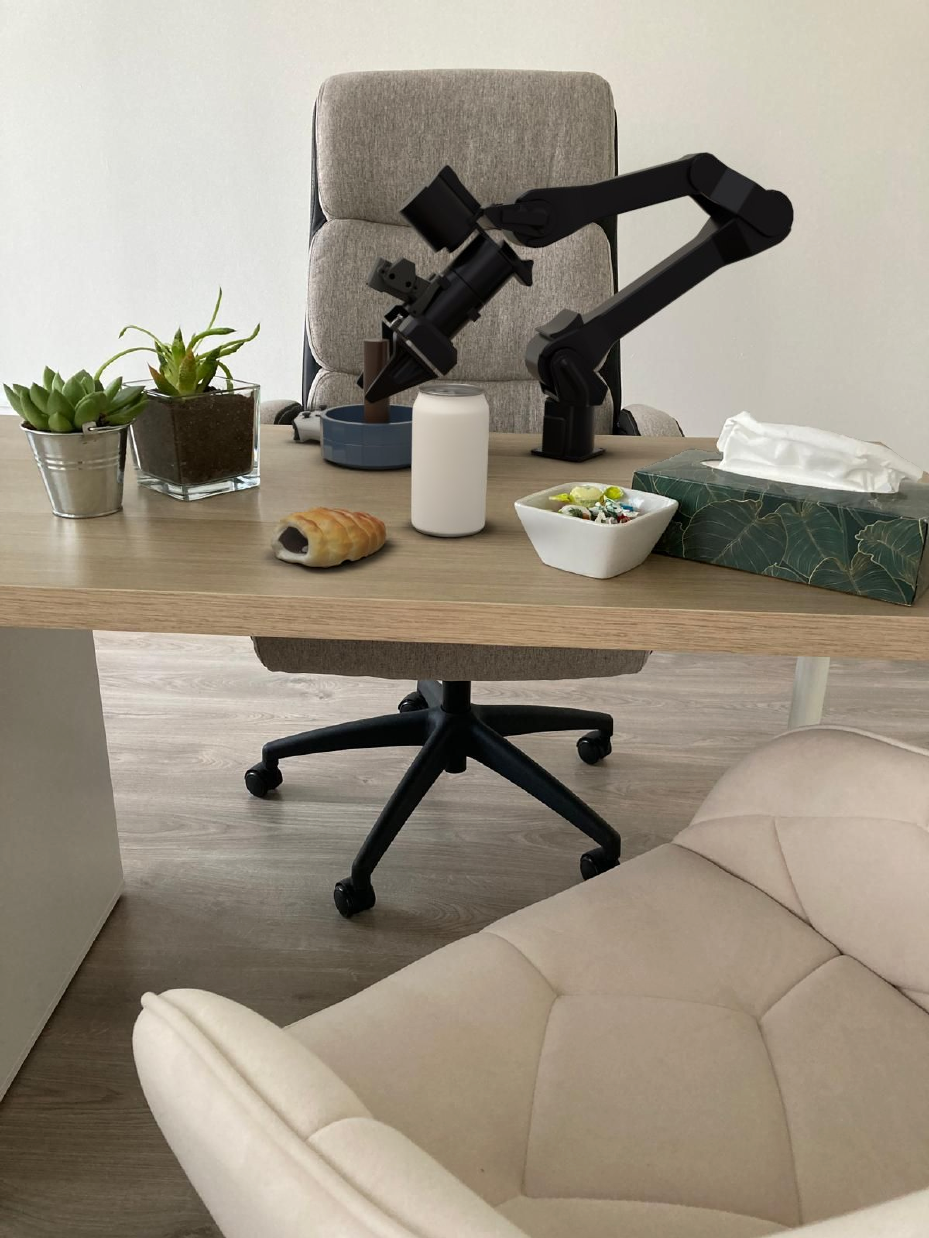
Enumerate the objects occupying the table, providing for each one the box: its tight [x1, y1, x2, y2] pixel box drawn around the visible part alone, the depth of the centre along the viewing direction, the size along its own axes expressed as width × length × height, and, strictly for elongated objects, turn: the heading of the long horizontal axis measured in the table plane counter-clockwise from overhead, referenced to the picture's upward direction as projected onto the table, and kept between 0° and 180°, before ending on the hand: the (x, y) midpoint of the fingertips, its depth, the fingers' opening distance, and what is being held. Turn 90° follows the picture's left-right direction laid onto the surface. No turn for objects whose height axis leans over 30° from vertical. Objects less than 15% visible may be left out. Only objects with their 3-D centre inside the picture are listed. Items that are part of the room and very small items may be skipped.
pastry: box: [270, 506, 387, 568], centre depth 82 cm, size 9×7×4 cm
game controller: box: [291, 404, 328, 443], centre depth 123 cm, size 10×5×6 cm
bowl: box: [319, 403, 413, 470], centre depth 113 cm, size 12×12×5 cm
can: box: [410, 382, 490, 538], centre depth 87 cm, size 6×6×12 cm
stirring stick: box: [362, 337, 391, 424], centre depth 111 cm, size 4×4×12 cm
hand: (363, 393), depth 111 cm, fingers open, 9 cm apart
